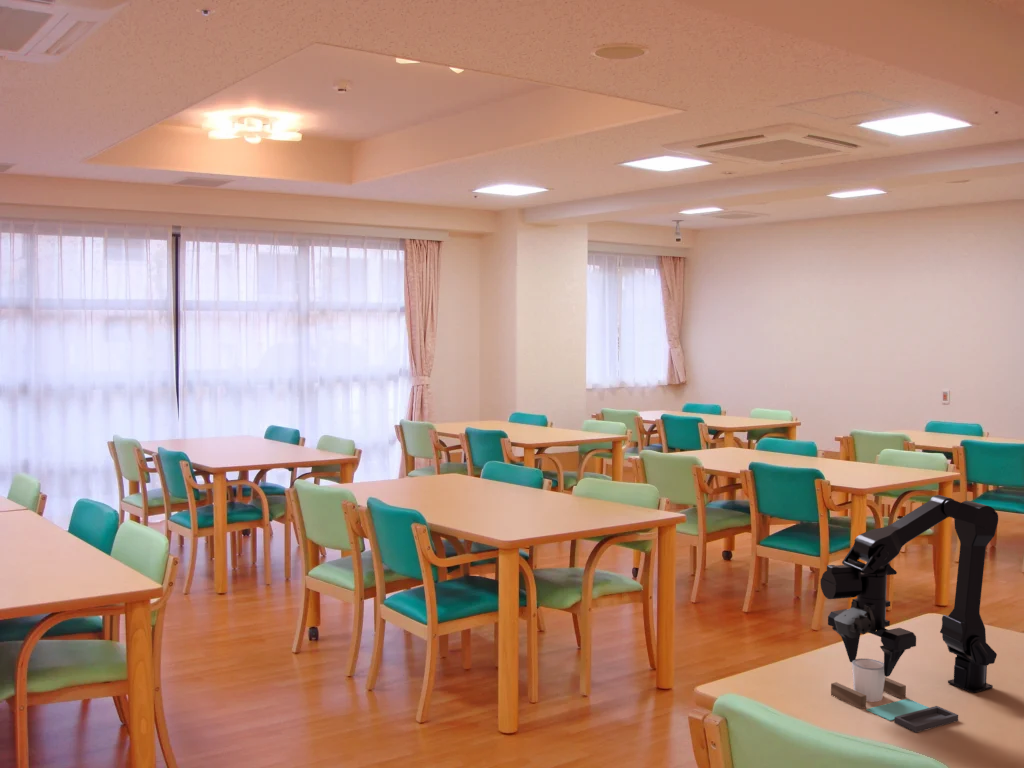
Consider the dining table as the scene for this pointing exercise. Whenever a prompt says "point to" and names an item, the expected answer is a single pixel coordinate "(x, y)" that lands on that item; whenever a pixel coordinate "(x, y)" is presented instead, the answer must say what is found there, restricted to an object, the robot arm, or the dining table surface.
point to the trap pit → (926, 719)
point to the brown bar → (860, 699)
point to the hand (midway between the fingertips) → (869, 669)
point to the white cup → (868, 678)
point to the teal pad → (896, 709)
